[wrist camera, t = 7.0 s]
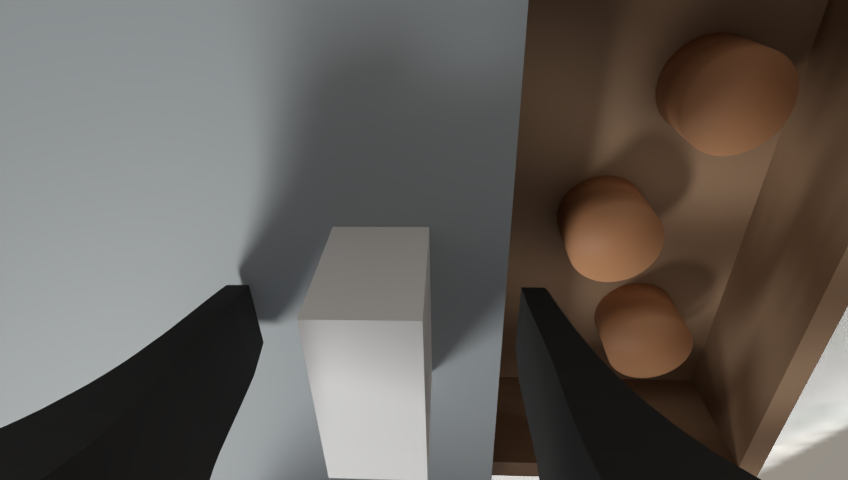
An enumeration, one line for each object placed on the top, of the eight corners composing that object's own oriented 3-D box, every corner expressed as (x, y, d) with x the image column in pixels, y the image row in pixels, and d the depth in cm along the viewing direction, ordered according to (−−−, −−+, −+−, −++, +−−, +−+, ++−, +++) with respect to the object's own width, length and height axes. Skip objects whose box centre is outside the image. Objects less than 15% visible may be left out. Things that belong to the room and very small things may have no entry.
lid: (487, 480, 19) (496, 613, 16) (23, 468, 20) (-73, 590, 17) (529, -101, 10) (579, -116, 6) (-362, -75, 11) (-802, -74, 7)
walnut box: (698, 379, 23) (753, 481, 19) (306, 372, 24) (275, 469, 20) (873, -95, 14) (1064, -103, 9) (215, -77, 15) (118, -77, 10)
